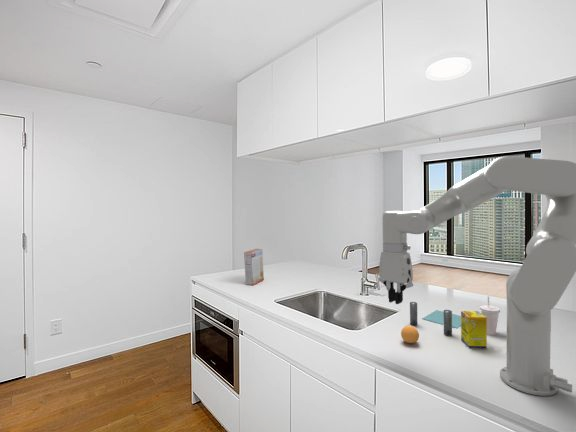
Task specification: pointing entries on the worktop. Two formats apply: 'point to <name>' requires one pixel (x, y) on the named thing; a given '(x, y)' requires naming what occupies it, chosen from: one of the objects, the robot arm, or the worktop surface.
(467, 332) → the supplement box
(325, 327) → the worktop surface
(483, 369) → the worktop surface
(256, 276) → the cracker box
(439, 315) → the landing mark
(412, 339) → the ball
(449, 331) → the post right
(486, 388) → the worktop surface
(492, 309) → the smoothie
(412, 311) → the post left
